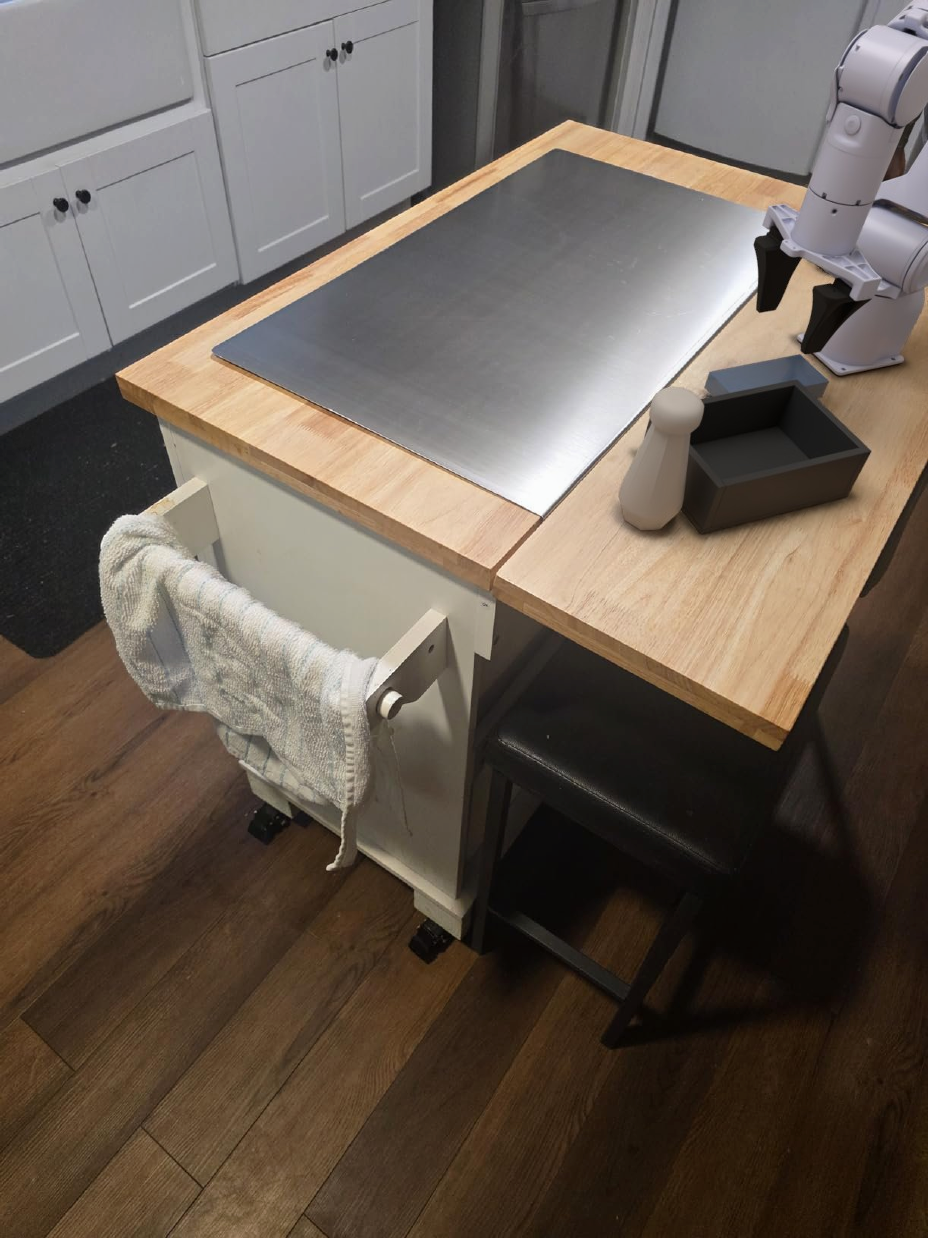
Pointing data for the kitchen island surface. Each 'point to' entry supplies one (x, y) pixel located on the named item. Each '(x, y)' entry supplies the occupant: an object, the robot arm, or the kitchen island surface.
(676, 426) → the salt shaker
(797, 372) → the blue block in tray
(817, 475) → the tub
